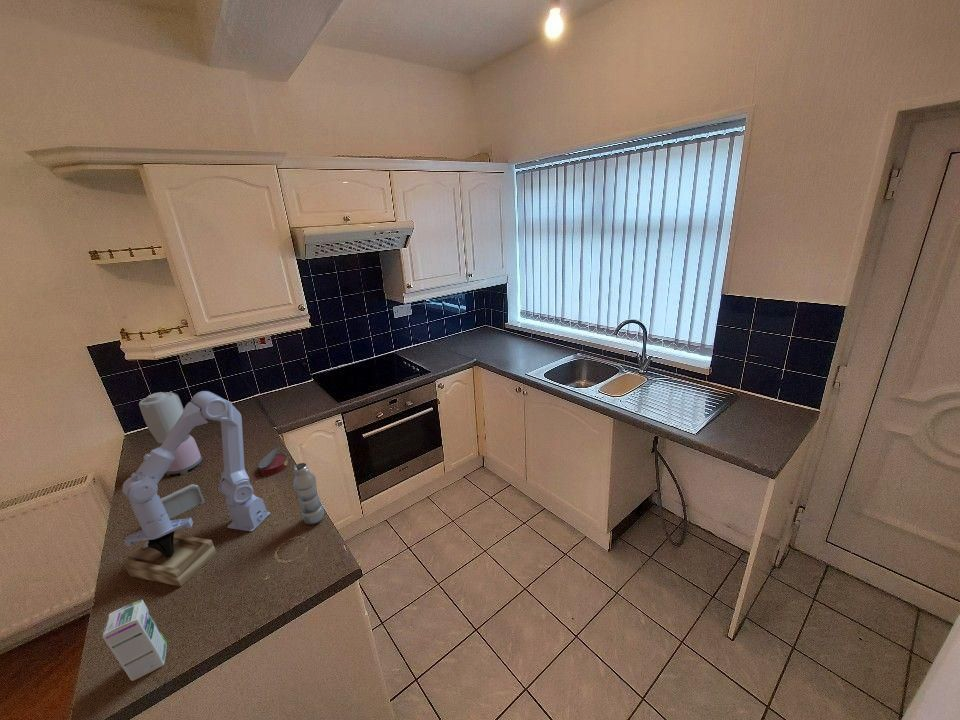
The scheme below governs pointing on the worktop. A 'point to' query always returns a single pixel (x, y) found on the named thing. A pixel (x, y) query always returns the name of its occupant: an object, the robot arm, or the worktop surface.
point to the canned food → (273, 463)
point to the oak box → (175, 562)
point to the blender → (169, 429)
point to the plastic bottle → (307, 494)
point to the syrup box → (135, 640)
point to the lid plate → (149, 553)
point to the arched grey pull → (182, 500)
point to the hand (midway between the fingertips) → (170, 554)
